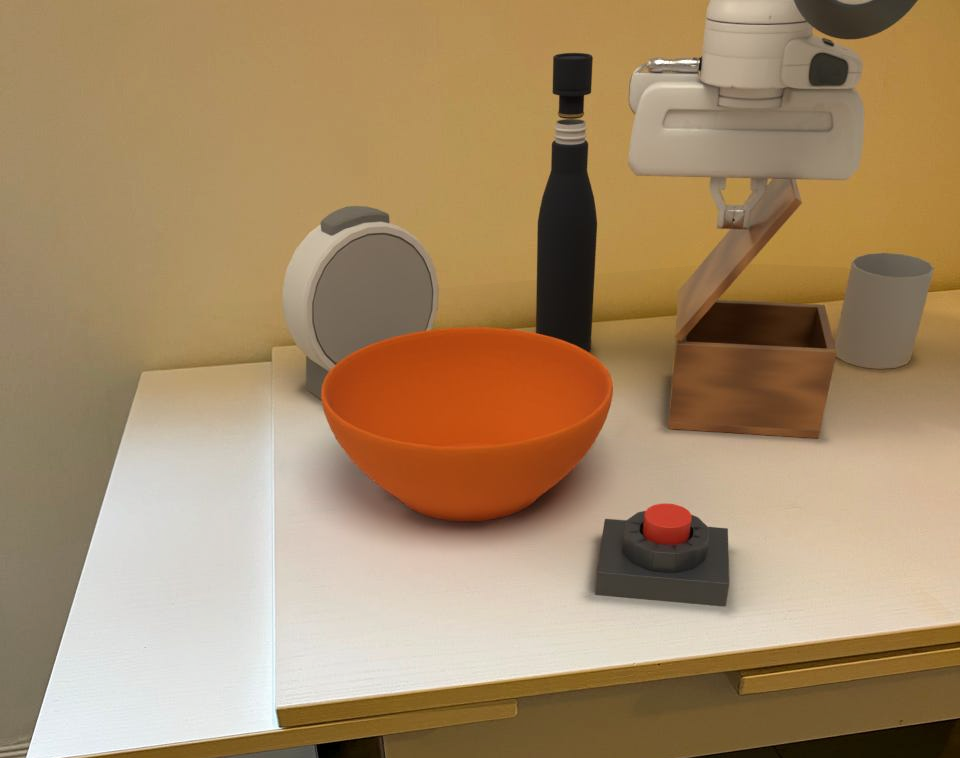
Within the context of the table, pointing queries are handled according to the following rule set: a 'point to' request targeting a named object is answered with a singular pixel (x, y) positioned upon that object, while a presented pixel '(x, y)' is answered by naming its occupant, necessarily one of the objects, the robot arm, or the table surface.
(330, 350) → the alarm clock
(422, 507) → the bowl
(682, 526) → the button
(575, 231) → the wine bottle
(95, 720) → the table surface
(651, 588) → the button block
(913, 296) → the cup
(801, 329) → the oak box
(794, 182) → the box lid
